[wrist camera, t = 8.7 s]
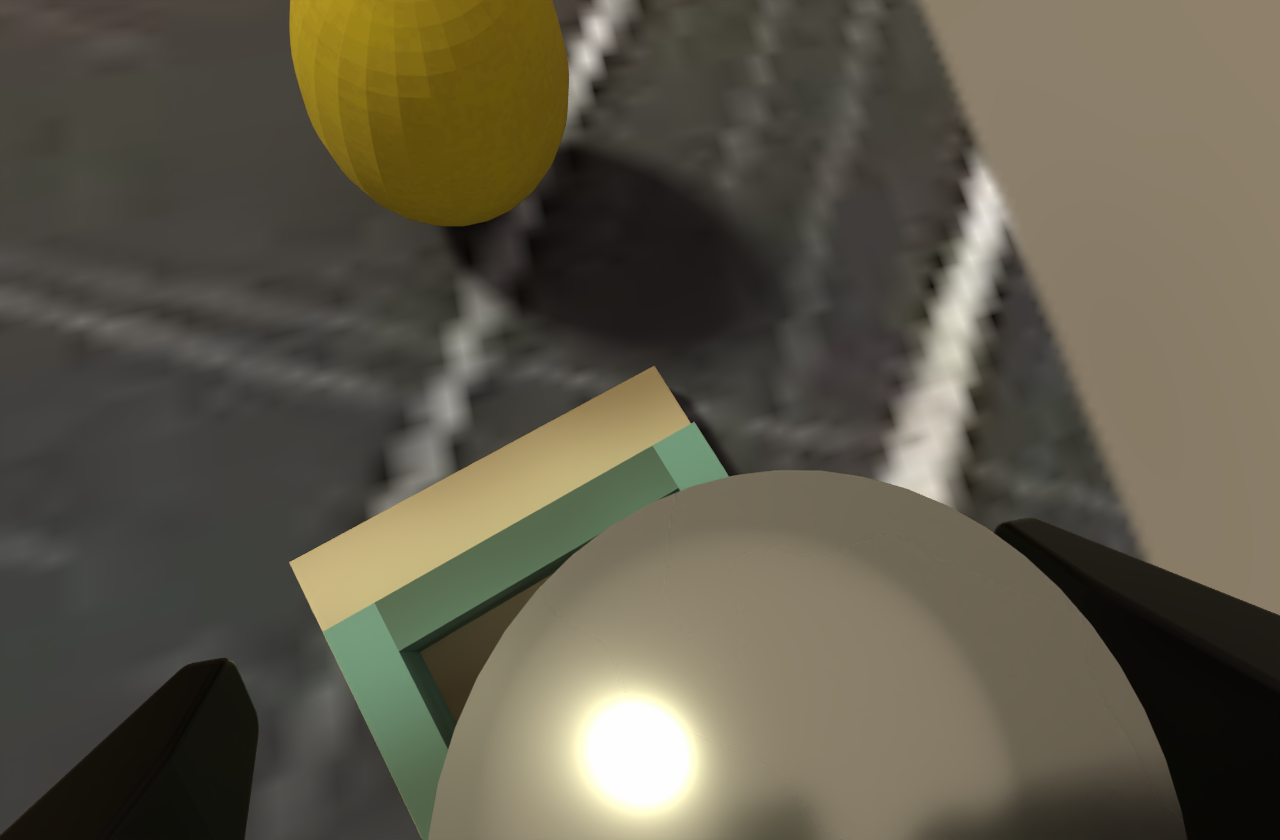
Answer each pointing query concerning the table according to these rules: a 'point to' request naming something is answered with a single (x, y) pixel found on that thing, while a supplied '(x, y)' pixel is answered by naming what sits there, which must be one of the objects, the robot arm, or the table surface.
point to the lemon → (435, 99)
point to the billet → (802, 685)
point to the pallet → (484, 563)
